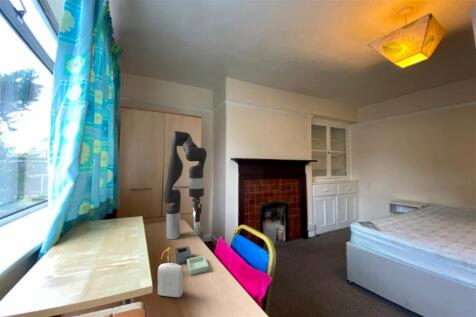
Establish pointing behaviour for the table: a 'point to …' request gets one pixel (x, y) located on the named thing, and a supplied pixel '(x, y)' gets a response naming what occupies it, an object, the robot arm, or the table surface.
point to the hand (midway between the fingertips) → (196, 220)
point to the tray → (197, 265)
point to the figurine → (169, 253)
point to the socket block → (182, 254)
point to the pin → (196, 225)
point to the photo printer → (170, 280)
